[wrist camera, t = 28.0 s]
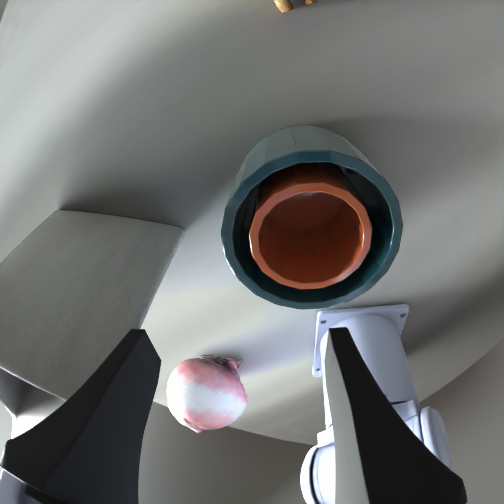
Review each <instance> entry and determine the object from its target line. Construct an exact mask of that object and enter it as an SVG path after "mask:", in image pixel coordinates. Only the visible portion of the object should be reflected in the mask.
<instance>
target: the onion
mask: <svg viewBox="0 0 504 504" xmlns="http://www.w3.org/2000/svg"><path fill="white" fill-rule="evenodd" d="M201 356H202V355H201ZM203 357H205V358H209V359H213V358H215V357H219V358H225V357H220V356H212V355H203ZM224 360H226V361H219V362H217V363H216V362H214V361H212V360H206V359H200V358H195V359H194V358H193V359H188V360H185V361H183V362H181V363H180V364H179V365H178V366H177V367H176V368H175V369H174V370H173V372H172V374H171V376H170V378H169V382H168V386H167V398H168V404H169V408H170V411H171V412H172V414H173V415H174V416H175V417H176V418H177V420H178V421H179V422H180V423H182V424H183V425H185V426H188V427H189V428H191V429H193V430H194V431H196V432H197V433H200V432H201V431H202V430H204V429H207V430H211V429H217V428H221V427H224V426H226V425H228V424H230V423H232V422H233V421H234V420H236V419H237V418H238V417H239V416H240V415H241V414H242V412H243V411H244V409H245V407H246V406H247V395H246V393H245V389H244V387H243V384H242V383H241V381H240V377H239V375H238V373H237V369H238V368H239V366H240V365H241V364H242V363H243V360H234V359H230V358H225V359H224Z"/></svg>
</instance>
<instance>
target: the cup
mask: <svg viewBox="0 0 504 504" xmlns="http://www.w3.org/2000/svg"><path fill="white" fill-rule="evenodd" d="M371 236H372V225H371V222H370V219H369V217H368V214H367V211H366V208H365V207H364V205H363V203H362V201H361V200H360V198H359V196H358V195H357V193H356V191H355V190H354V188H353V186H352V185H351V183H350V181H349V180H348V178H347V177H346V175H345V173H344V172H343V170H342V169H341V168H340V167H339V166H338V165H337V164H334V163H331V162H310V163H298V164H295V165H292V166H289V167H287V168H284V169H281V170H278V171H276V172H273V173H271V174H270V175H269V176H267V177H266V178H265V179H264V180H262V181H261V182H260V183H259V184H258V186H257V189H256V194H255V200H254V206H253V213H252V219H251V225H250V231H249V239H250V246H251V254H252V256H253V257H254V259H255V261H256V262H257V264H258V265H259V267H260V268H261V270H262V271H263V272H264V273H265V274H267V275H268V276H269V277H271V278H272V279H274V280H275V281H277V282H278V283H280V284H283V285H286V286H290V287H294V288H298V289H316V288H322V287H323V288H324V287H327V286H330V285H332V284H335V283H338V282H340V281H342V280H344V279H345V278H347V277H348V276H349V275H350V274H352V273H353V272H354V271H355V270H356V269H358V268H359V267H360V265H361V264H362V262H363V260H364V258H365V257H366V255H367V253H368V251H369V250H370V245H371Z"/></svg>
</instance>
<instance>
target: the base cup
mask: <svg viewBox="0 0 504 504" xmlns="http://www.w3.org/2000/svg"><path fill="white" fill-rule="evenodd" d="M310 162H331V163H334V164H337V165H338V166H339V167H340V168H341V169H342V170H343V172H344V173H345V175H346V177H347V178H348V180H349V181H350V183H351V185H352V186H353V188H354V190H355V191H356V193H357V195H358V196H359V198H360V200H361V201H362V203H363V205H364V207H365V208H366V211H367V214H368V217H369V219H370V222H371V225H372V236H371V245H370V250H369V251H368V253H367V255H366V257H365V258H364V260H363V262H362V264H361V265H360V267H359V268H358V269H356V270H355V271H354V272H353V273H352V274H350V275H349V276H348V277H347V278H345V279H344V280H342V281H340V282H338V283H335V284H332V285H330V286H327V287H324V288H323V287H322V288H316V289H298V288H294V287H290V286H286V285H283V284H280V283H278V282H277V281H275V280H274V279H272V278H271V277H269V276H268V275H267V274H265V273H264V272H263V271H262V270H261V268H260V267H259V265H258V264H257V262H256V261H255V259H254V257H253V256H252V254H251V246H250V239H249V231H250V225H251V219H252V213H253V206H254V200H255V194H256V189H257V186H258V184H259V183H260V182H261V181H262V180H264V179H265V178H266V177H267V176H269V175H270V174H271V173H273V172H276V171H278V170H281V169H284V168H287V167H289V166H292V165H295V164H298V163H310ZM402 229H403V222H402V216H401V211H400V205H399V202H398V199H397V197H396V195H395V194H394V192H393V190H392V189H391V187H390V186H389V184H388V182H387V181H386V179H385V178H384V177H383V176H382V175H381V173H380V172H379V171H378V170H377V169H376V168H375V167H374V166H373V165H372V164H371V163H370V162H369V161H368V160H367V158H366V157H365V156H364V155H363V154H362V153H361V152H360V151H359V150H358V149H357V148H356V147H355V146H354V145H352V144H351V143H350V142H348V141H347V140H346V139H345V138H343V137H342V136H340V135H339V134H337V133H335V132H333V131H331V130H329V129H325V128H322V127H318V126H312V125H296V126H290V127H286V128H282V129H279V130H277V131H274V132H272V133H271V134H269V135H267V136H265V137H264V138H263V139H261V140H260V141H259V142H258V143H257V144H256V145H255V146H254V147H253V148H252V149H251V150H250V152H249V153H248V154H247V156H246V158H245V159H244V161H243V163H242V165H241V167H240V169H239V172H238V174H237V177H236V180H235V183H234V185H233V188H232V191H231V194H230V196H229V199H228V202H227V205H226V208H225V212H224V218H223V223H222V228H221V238H222V244H223V249H224V255H225V257H226V258H225V259H226V260H227V262H228V264H229V265H230V267H231V269H232V271H233V272H234V274H235V276H236V277H237V278H238V280H239V281H240V282H242V283H243V284H244V285H245V286H246V287H247V288H248V289H249V290H251V291H252V292H253V293H254V294H255V295H257V296H259V297H261V298H263V299H265V300H268V301H270V302H272V303H274V304H276V305H280V306H285V307H290V308H296V309H320V308H328V307H331V306H335V305H338V304H342V303H345V302H348V301H350V300H352V299H354V298H356V297H357V296H359V295H361V294H362V293H364V292H366V291H368V290H369V289H370V288H372V287H373V286H374V285H375V284H376V283H377V282H378V281H379V280H380V279H381V278H382V277H383V276H384V275H385V274H386V272H387V271H388V270H389V268H390V266H391V264H392V262H393V260H394V259H395V257H396V255H397V253H398V250H399V247H400V241H401V235H402Z"/></svg>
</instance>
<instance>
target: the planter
mask: <svg viewBox="0 0 504 504" xmlns="http://www.w3.org/2000/svg"><path fill="white" fill-rule="evenodd" d="M183 236H184V230H183V229H182V228H181V227H176V226H171V225H166V224H160V223H155V222H149V221H144V220H138V219H132V218H126V217H121V216H114V215H106V214H99V213H91V212H83V211H64V210H56V211H55V212H54V213H53V214H51V215H50V216H49V217H48V218H47V219H46V220H45V221H44V222H42V223H41V224H40V225H39V226H38V227H37V228H36V229H35V230H34V231H33V232H31V233H30V234H29V235H28V236H27V237H26V238H25V239H24V240H23V241H22V242H21V243H20V244H19V245H18V246H17V247H16V248H15V249H14V250H13V251H12V252H11V253H10V254H9V255H8V256H7V257H6V258H5V259H4V260H3V261H2V262H1V263H0V402H1V403H2V404H3V405H4V406H5V407H6V409H7V410H8V411H9V412H10V413H11V415H12V417H13V430H12V438H14V437H16V436H18V435H20V434H22V433H23V432H25V431H27V430H29V429H30V428H32V427H33V426H35V425H36V424H38V423H39V422H41V421H42V420H44V419H45V418H46V417H47V416H49V415H50V414H51V413H53V412H54V411H55V410H56V409H58V408H59V407H60V406H61V405H62V404H64V403H65V402H66V401H67V400H68V399H69V398H70V397H71V396H72V395H73V394H74V393H75V392H76V391H77V390H78V389H79V388H80V387H81V386H82V385H83V384H84V383H85V382H86V381H87V380H88V379H89V377H90V376H91V375H92V374H93V373H94V372H95V371H96V370H97V369H98V367H99V366H100V365H101V364H102V363H103V362H104V360H105V359H106V358H107V357H108V356H109V354H110V353H111V352H112V351H113V350H114V348H115V347H116V346H117V345H118V344H119V343H120V341H121V340H122V339H123V338H124V337H125V335H126V334H127V333H128V332H129V331H130V330H131V329H140V328H141V325H142V323H143V321H144V318H145V316H146V314H147V312H148V309H149V307H150V305H151V303H152V301H153V298H154V296H155V294H156V292H157V290H158V287H159V285H160V283H161V281H162V279H163V277H164V275H165V273H166V270H167V268H168V266H169V264H170V262H171V260H172V258H173V256H174V254H175V252H176V250H177V248H178V246H179V244H180V242H181V240H182V238H183Z"/></svg>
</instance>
